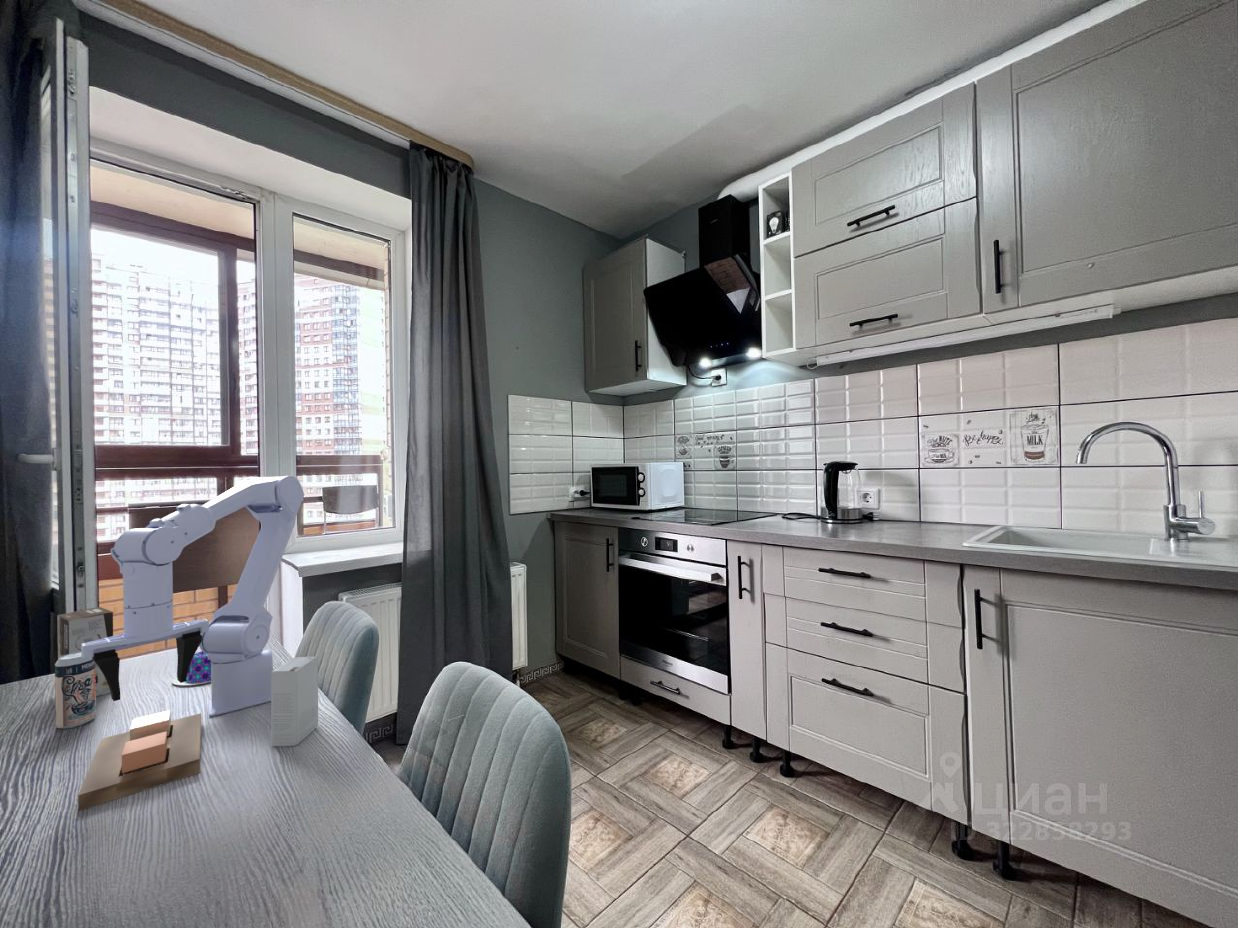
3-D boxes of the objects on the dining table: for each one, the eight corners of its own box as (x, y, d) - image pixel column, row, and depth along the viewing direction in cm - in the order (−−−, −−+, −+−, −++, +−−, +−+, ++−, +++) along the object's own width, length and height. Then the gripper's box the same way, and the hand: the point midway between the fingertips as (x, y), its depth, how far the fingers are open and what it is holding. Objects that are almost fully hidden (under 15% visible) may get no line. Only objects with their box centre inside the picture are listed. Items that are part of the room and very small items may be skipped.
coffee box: (115, 691, 100) (114, 611, 100) (68, 704, 94) (67, 620, 94) (102, 681, 105) (101, 605, 105) (57, 694, 99) (56, 613, 99)
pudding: (194, 692, 99) (193, 666, 99) (158, 684, 104) (158, 659, 104) (256, 669, 110) (256, 645, 110) (222, 662, 115) (222, 640, 115)
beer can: (68, 731, 84) (67, 661, 84) (47, 729, 85) (47, 659, 85) (103, 717, 89) (102, 650, 89) (83, 715, 90) (82, 649, 90)
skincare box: (293, 727, 84) (292, 656, 84) (320, 726, 84) (319, 655, 84) (269, 748, 78) (267, 671, 78) (298, 746, 78) (297, 669, 78)
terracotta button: (167, 747, 74) (166, 731, 74) (165, 760, 71) (164, 743, 71) (126, 759, 72) (125, 741, 72) (121, 773, 68) (121, 755, 68)
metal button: (170, 724, 81) (170, 709, 81) (169, 735, 78) (168, 719, 78) (133, 734, 78) (133, 718, 79) (129, 745, 75) (129, 729, 75)
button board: (201, 724, 85) (201, 713, 85) (199, 772, 72) (199, 758, 72) (101, 751, 78) (101, 738, 78) (78, 810, 64) (77, 795, 64)
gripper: (199, 590, 87) (201, 668, 86) (77, 610, 75) (79, 700, 75) (212, 596, 82) (213, 677, 82) (84, 618, 71) (86, 713, 71)
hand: (150, 689), depth 78 cm, fingers open, 7 cm apart
